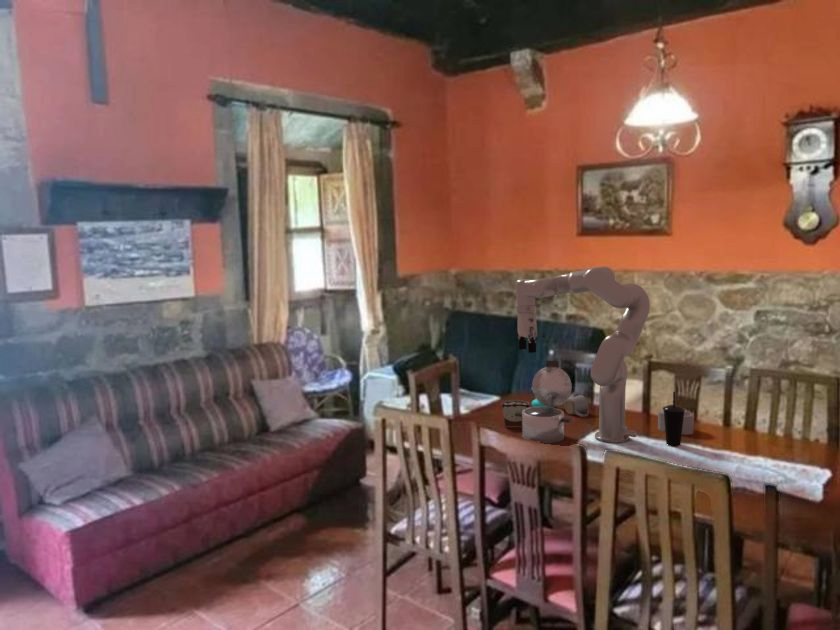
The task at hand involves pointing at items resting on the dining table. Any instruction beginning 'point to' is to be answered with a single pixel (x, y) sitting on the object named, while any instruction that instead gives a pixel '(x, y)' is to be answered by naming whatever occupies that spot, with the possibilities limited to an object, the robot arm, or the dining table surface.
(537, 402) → the donuts
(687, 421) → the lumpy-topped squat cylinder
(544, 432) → the pot
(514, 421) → the food container
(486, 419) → the dining table surface
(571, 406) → the ceramic mug
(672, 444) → the drinking cup
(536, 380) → the lid
